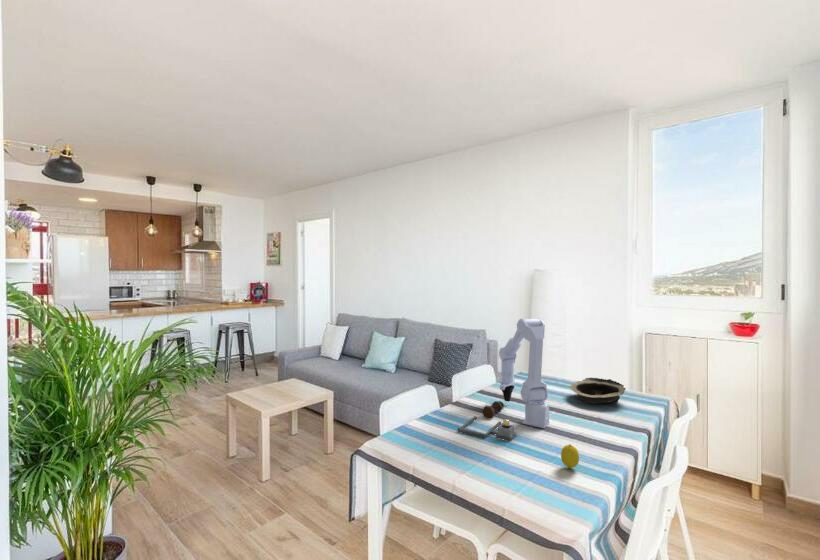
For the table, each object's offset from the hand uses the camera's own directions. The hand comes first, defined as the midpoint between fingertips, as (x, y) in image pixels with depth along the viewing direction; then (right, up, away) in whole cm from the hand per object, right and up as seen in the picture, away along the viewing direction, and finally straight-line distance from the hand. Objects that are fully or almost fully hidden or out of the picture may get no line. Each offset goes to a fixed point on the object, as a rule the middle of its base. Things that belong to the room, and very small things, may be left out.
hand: (507, 400), depth 192 cm
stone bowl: (+45, -2, +5) cm, 46 cm away
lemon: (+6, -4, -60) cm, 60 cm away
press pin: (-9, +1, -36) cm, 37 cm away
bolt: (-8, -3, -10) cm, 14 cm away
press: (-14, -3, -30) cm, 33 cm away
